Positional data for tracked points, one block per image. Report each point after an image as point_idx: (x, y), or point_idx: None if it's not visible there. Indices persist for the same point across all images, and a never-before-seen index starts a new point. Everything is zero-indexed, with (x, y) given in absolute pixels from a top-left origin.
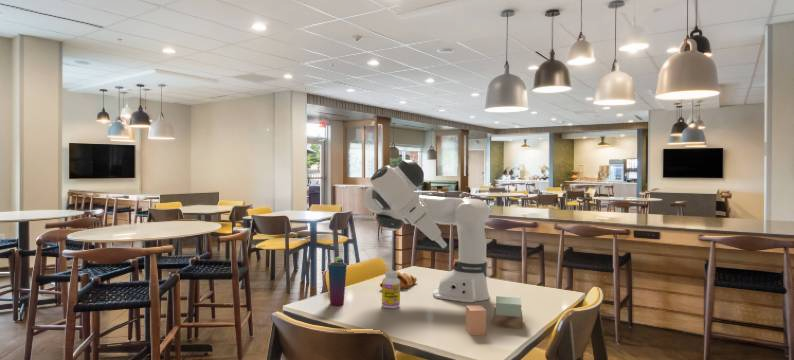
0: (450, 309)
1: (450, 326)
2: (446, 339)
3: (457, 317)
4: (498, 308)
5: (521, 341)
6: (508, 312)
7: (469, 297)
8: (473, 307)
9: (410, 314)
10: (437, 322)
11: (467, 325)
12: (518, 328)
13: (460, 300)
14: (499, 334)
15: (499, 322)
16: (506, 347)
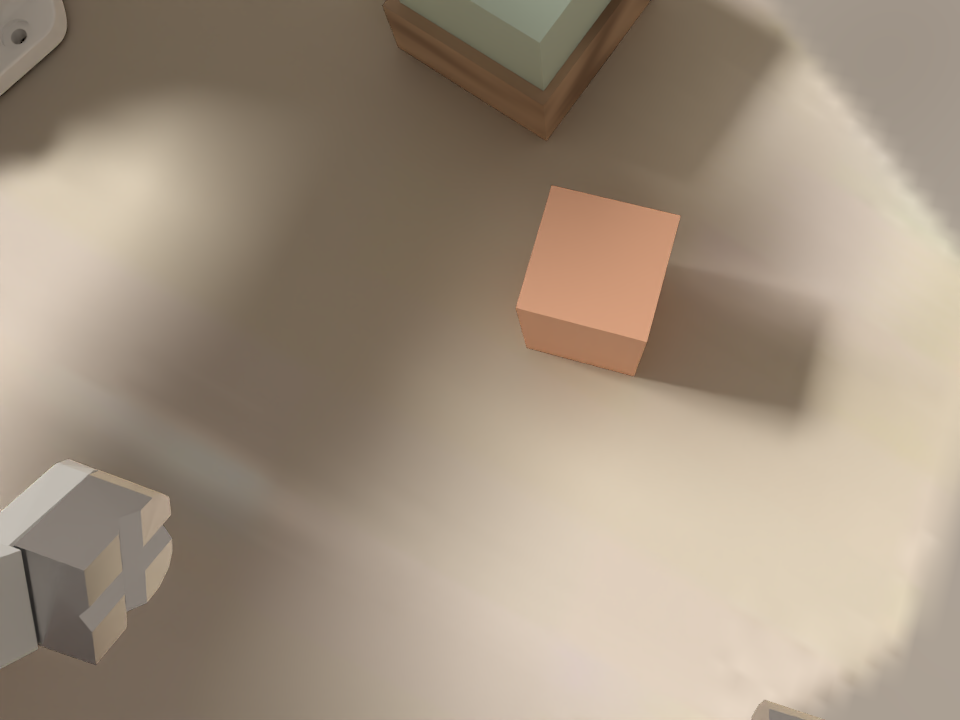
0: (128, 243)
1: (443, 421)
2: (660, 575)
3: (299, 282)
4: (554, 50)
5: (847, 125)
6: (597, 5)
7: (6, 8)
8: (578, 273)
9: None
10: (337, 470)
11: (571, 351)
12: (639, 14)
13: (3, 86)
14: (693, 187)
15: (568, 97)
16: (911, 271)
